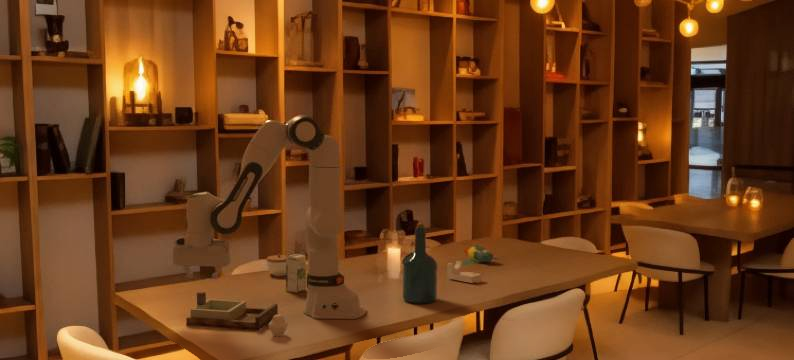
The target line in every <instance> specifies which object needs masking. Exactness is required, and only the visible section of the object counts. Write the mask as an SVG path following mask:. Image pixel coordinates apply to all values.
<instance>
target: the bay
mask: <svg viewBox="0 0 794 360" xmlns="http://www.w3.org/2000/svg"><path fill="white" fill-rule="evenodd" d="M278 306H279V305H278V303H273V304H272V305H270V306H269V307H268V308H261V307H247V306H246V313H244V314H243V315H241V316H240V317H238V318H237V319H235V320H224V319H210V318H195V317H191V316H187V317H186V319H185V322H186V326H192V327H193V326H194V327H207V328H222V329H233V330H234V329H235V330H246V329H248V330H249V331H260V330H261V328H262V329H263V328H264V327H266V326H267V325H269V323H270V322H271V320H272V319H273V316H274V315H279V314H278V312H279V311H278Z"/></svg>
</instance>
